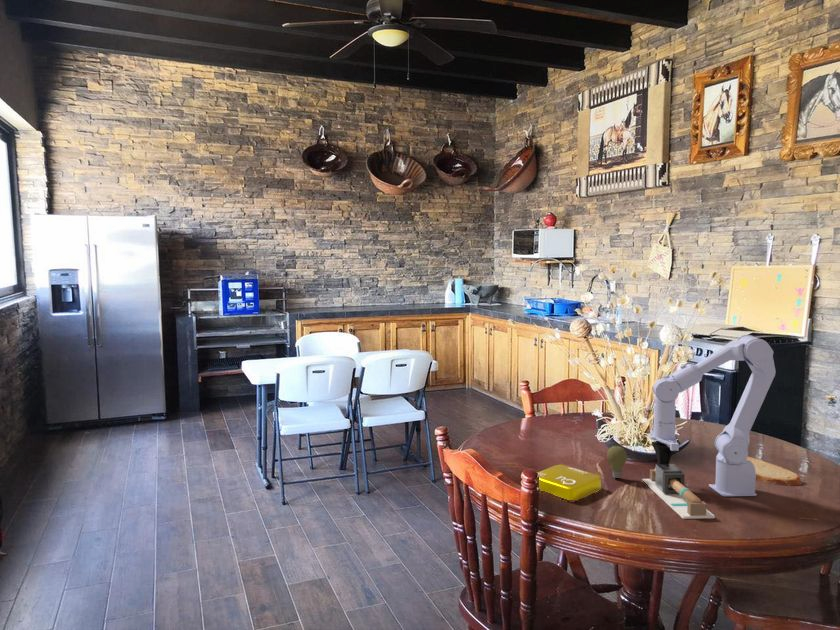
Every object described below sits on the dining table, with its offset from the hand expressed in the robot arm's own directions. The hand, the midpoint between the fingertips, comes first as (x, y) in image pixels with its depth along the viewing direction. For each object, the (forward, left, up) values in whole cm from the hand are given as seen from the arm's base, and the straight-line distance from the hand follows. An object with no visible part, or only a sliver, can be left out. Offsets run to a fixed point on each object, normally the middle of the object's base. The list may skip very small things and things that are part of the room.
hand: (663, 467), depth 168 cm
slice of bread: (-34, -9, -6) cm, 35 cm away
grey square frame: (0, +7, -5) cm, 8 cm away
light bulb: (+11, -7, -6) cm, 14 cm away
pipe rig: (0, +8, -6) cm, 10 cm away
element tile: (+28, 0, -6) cm, 29 cm away
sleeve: (0, +3, -5) cm, 6 cm away
